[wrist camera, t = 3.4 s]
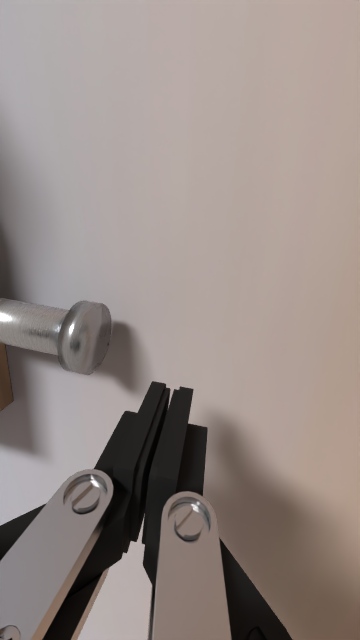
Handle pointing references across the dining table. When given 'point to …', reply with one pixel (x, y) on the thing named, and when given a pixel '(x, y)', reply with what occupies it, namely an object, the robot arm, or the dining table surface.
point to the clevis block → (4, 380)
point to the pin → (59, 331)
